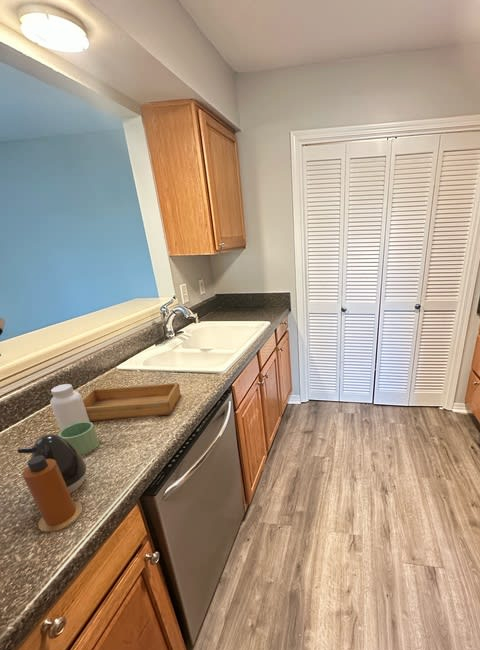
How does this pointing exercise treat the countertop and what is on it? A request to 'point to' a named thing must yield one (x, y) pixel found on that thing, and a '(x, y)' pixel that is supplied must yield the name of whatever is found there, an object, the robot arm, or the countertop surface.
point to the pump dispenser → (60, 458)
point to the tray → (131, 401)
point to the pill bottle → (67, 406)
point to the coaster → (47, 528)
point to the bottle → (49, 490)
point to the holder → (81, 436)
